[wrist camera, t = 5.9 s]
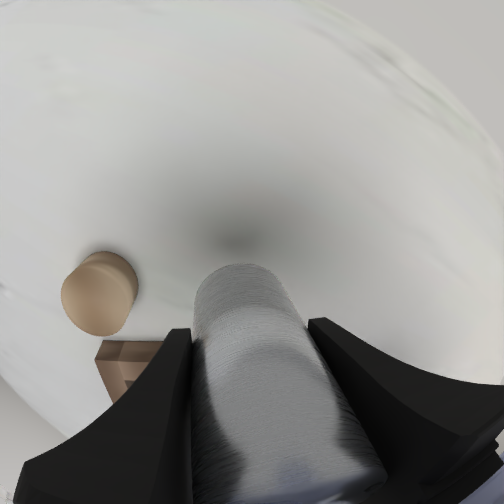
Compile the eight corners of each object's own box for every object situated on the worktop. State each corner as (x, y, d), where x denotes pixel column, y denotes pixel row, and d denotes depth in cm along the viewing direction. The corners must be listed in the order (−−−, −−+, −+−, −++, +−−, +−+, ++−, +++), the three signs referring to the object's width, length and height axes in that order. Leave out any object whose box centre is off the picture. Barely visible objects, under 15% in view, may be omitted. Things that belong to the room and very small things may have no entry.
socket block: (215, 339, 21) (217, 360, 19) (222, 412, 24) (224, 432, 22) (103, 340, 20) (94, 360, 17) (131, 412, 23) (127, 431, 20)
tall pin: (288, 260, 12) (418, 443, 3) (283, 338, 13) (355, 510, 4) (190, 265, 11) (174, 496, 3) (198, 345, 12) (207, 537, 4)
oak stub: (133, 249, 18) (119, 268, 15) (143, 310, 20) (133, 337, 16) (75, 252, 17) (53, 270, 14) (88, 310, 19) (72, 334, 16)
